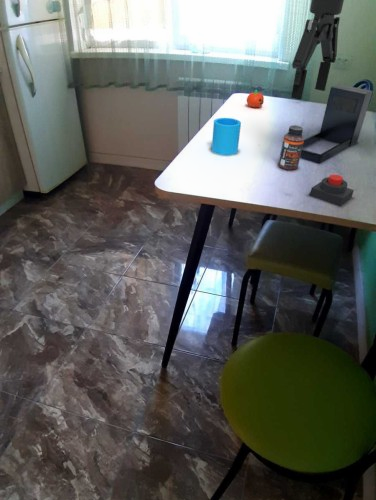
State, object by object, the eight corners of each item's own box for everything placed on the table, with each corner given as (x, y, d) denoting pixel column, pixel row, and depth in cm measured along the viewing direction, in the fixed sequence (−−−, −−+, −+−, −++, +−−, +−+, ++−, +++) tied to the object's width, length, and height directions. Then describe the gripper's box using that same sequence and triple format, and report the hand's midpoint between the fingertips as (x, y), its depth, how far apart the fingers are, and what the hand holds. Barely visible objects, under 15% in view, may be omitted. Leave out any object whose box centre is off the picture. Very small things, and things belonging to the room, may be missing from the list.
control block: (351, 197, 111) (356, 183, 108) (340, 206, 107) (345, 191, 104) (321, 187, 115) (325, 173, 112) (309, 195, 111) (313, 180, 108)
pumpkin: (262, 104, 175) (265, 87, 171) (262, 110, 169) (265, 92, 165) (246, 103, 176) (248, 86, 171) (245, 108, 170) (247, 91, 166)
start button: (343, 183, 109) (345, 177, 108) (337, 187, 107) (339, 181, 106) (331, 179, 111) (332, 173, 109) (325, 183, 109) (326, 177, 107)
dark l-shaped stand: (357, 142, 145) (372, 91, 134) (320, 163, 128) (334, 107, 117) (326, 134, 150) (338, 84, 139) (286, 153, 134) (297, 98, 123)
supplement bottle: (282, 171, 123) (290, 130, 115) (275, 163, 127) (282, 124, 119) (300, 170, 124) (310, 130, 116) (293, 162, 128) (301, 123, 120)
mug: (235, 156, 130) (238, 127, 124) (209, 153, 131) (211, 124, 125) (241, 143, 139) (244, 116, 133) (216, 140, 140) (218, 113, 134)
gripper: (319, -5, 88) (298, 105, 103) (364, -8, 103) (340, 89, 117) (289, -7, 92) (272, 99, 106) (336, -10, 106) (316, 84, 121)
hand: (308, 94), depth 112 cm, fingers open, 13 cm apart
